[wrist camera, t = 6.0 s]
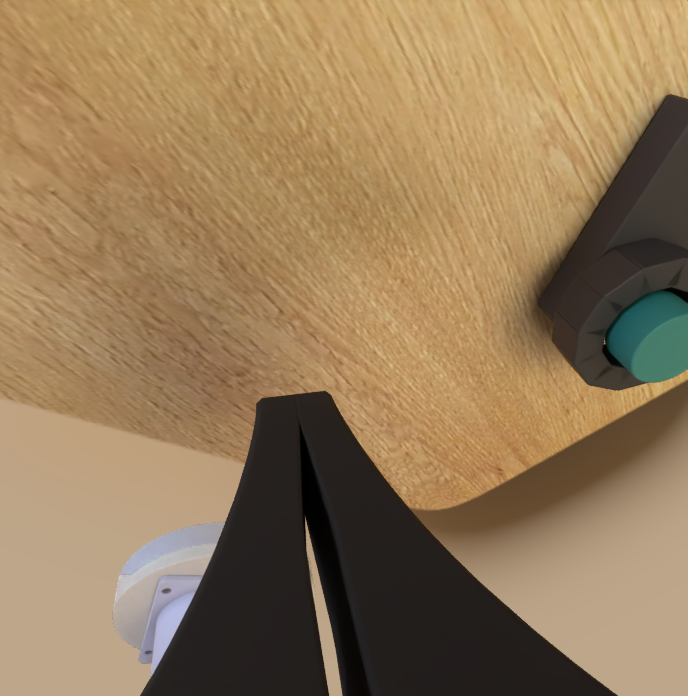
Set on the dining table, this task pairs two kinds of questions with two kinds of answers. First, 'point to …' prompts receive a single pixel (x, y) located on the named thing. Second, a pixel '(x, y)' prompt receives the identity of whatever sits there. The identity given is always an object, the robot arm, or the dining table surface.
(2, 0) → the dining table surface
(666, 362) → the button
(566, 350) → the button block
